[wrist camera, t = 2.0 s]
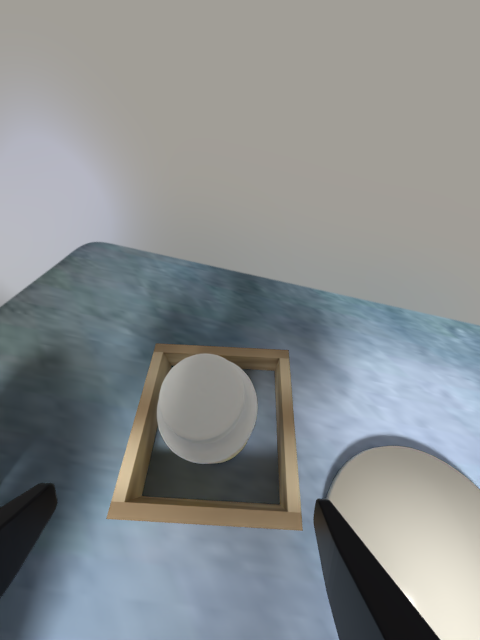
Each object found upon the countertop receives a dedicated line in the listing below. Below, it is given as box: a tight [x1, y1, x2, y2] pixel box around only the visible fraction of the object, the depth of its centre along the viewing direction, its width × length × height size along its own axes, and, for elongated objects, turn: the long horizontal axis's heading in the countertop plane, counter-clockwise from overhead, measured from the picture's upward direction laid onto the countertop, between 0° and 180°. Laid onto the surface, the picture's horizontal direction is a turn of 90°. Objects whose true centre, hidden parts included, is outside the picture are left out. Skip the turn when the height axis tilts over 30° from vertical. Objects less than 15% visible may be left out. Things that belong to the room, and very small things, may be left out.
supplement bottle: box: [157, 353, 258, 464], centre depth 14 cm, size 6×6×10 cm
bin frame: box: [106, 344, 303, 531], centre depth 17 cm, size 12×12×3 cm
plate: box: [326, 446, 480, 640], centre depth 14 cm, size 13×13×1 cm
